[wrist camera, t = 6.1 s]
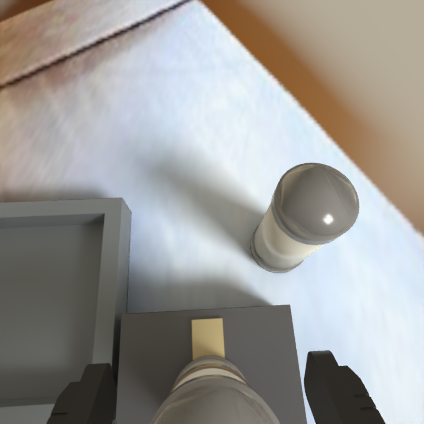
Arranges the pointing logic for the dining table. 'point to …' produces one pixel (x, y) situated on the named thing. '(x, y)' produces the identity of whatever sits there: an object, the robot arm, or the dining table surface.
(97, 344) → the parts tray
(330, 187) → the fuse
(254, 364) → the block
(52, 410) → the robot arm
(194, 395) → the ball
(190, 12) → the dining table surface
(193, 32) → the dining table surface
